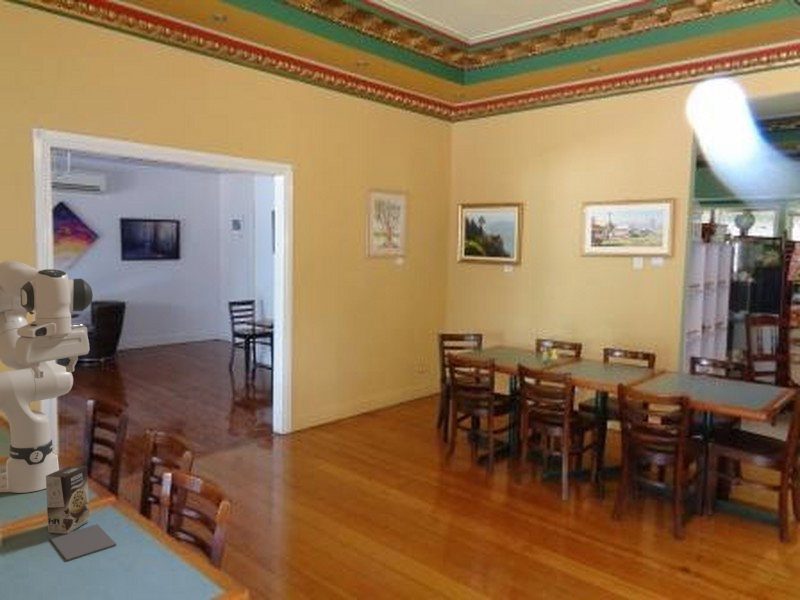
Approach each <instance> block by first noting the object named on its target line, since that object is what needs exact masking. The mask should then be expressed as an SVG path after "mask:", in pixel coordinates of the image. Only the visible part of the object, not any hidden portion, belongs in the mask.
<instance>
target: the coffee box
mask: <svg viewBox="0 0 800 600" xmlns="http://www.w3.org/2000/svg"><path fill="white" fill-rule="evenodd" d="M88 476H89V475H88V466H86V465H85V466H84V465H75V466H74V465H67V466H65V467H63V468H61V469H59V470H58V471H56V472H54V473H52V474H49V475H47V476H46V488H45V489H46V508H47V509H46V511H47V528H48V529H47V532H48V533H52V534H53V533H55V534H61V535H62V534H68V533H69V532H72V531H76V530H77V529H78V528H79V527H81V526H84V525H85V524H87V523H89V522H90V521H91V518H90V515H91V514H90V500H89V499H90V497H89V481H88V479H89V478H88Z"/></svg>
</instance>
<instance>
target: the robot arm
mask: <svg viewBox="0 0 800 600" xmlns="http://www.w3.org/2000/svg"><path fill="white" fill-rule="evenodd" d="M92 301H93V290H92V287H91V286H90V284H89V283H88V282H87V281H86V280H84V279H83V278H72V279H71V278H69V275H68V273H66V271H64V270H60V269H48V268H47V269H39V268H36V267H34V266H31V265H29V264H27V263H25V262H22V261H20V260H6V261H3V262H1V263H0V361H1V363H2V364H3V365H4V366H6V367H7V368H10V370H4V371H1V372H0V411H1V413H3V414H4V416H5V417H6V419H7V421H8V424H9V425H8V426H9V430H10V432H9V433H10V441H11V443H10V446H9V451H8V452H9V457H8V459H7V460H6V462H5V464H6V465H0V493H15V494H16V493H18V494H20V493H22V494H23V493H24V494H25V493H31V492H37V491H41V490H44V489H46V476H47V475H49V474H52V473H54V472H56V471H58V470H60V468H59V467H60V466H59V457H58V455H57V454H56V453H54V452H53V450H54V449H53V447H54V444H53V440H52V438H51V419H50V418H49V416H48V415H47V414H46V413H45V412H44V413H43V412H41V411H38V410H35V409H31V406H30V403H32V402H37V401H43V400H51V399H54V398H55V399H56V398H58V397H61V396H64V395H66V394H68V393H70V391H71V390H72V388H73V385H74V376H73V373H72V372H75V366H76V364H77V362H78V360H79V356H86V355H88V354H89V351H90V341H89V337H88V327H87V326H86V325H85V324H83V323H78V324H72V313H71V312H84V311H85V310H86V309H87V308H88V307H89V306H90V305H91V303H92ZM28 313H29V314H30V315H34V314H35V320H34V321H31V322H30V323H29V322H28V320H27V314H28ZM61 359H69V360H70V361H69V363H68V365H62V364H58V363H56V362H54V361H56V360H61Z"/></svg>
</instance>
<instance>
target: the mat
mask: <svg viewBox="0 0 800 600" xmlns="http://www.w3.org/2000/svg"><path fill="white" fill-rule="evenodd" d="M49 540H50V542H51V543H52V544H53V546H54V547H55V548H56V549H57V550H58V552H59V553H60V554H61V556H62V557H63V559H64V560H65V561H66V562H70V561H72V560H76V559H79V558H83V557H85V556H89V555H91V554H95V553H98V552H101V551H105V550H106V549H110V548H113V547H114V548H115V547H116V546H117V543H116V542H115V541H114V540H113V539H112V538H111V537H110V536H109V535H108V533H106V532H105V531H104V530H103V528H102V527H100V525H99V524H94V525H93V524H92V525H90V526H86V527H83V528H80V529H75V530H73V531H71V532H69V533H68V534H62V533H61V534H58V535H55V536H52V537H49Z"/></svg>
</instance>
